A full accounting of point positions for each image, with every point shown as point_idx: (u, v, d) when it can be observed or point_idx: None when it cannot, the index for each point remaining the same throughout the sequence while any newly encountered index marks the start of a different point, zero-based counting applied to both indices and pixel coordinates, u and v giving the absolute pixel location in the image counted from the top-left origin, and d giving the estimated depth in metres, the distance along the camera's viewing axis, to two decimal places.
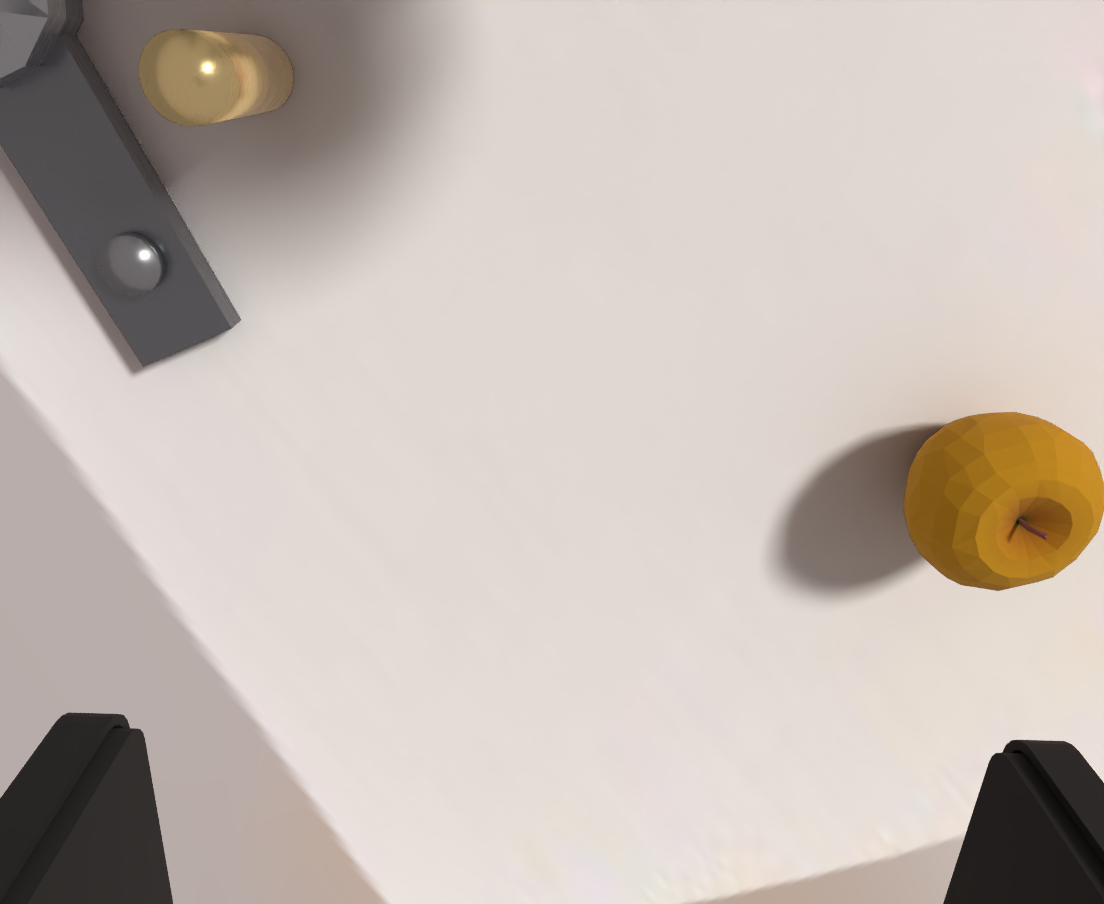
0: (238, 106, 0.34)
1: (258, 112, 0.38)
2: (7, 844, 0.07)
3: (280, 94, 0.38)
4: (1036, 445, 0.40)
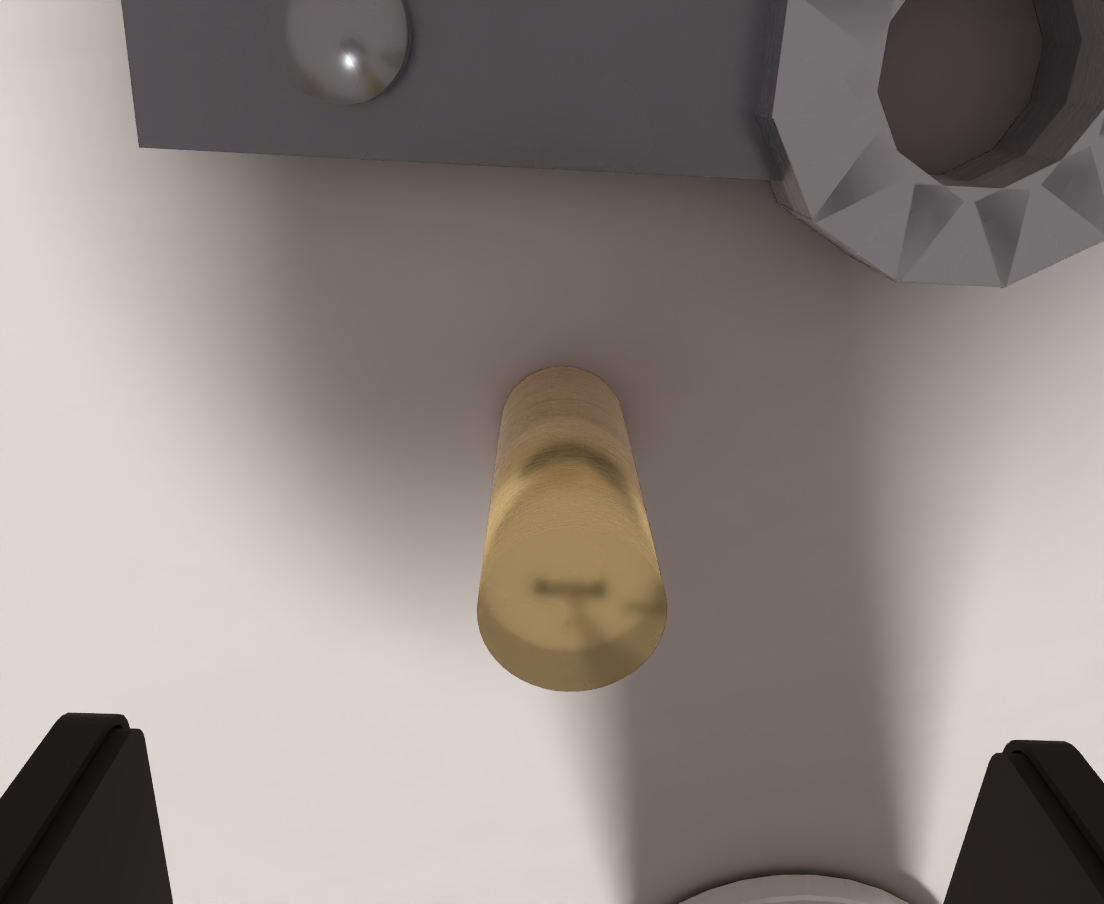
0: None
1: None
2: (7, 844, 0.07)
3: None
4: None
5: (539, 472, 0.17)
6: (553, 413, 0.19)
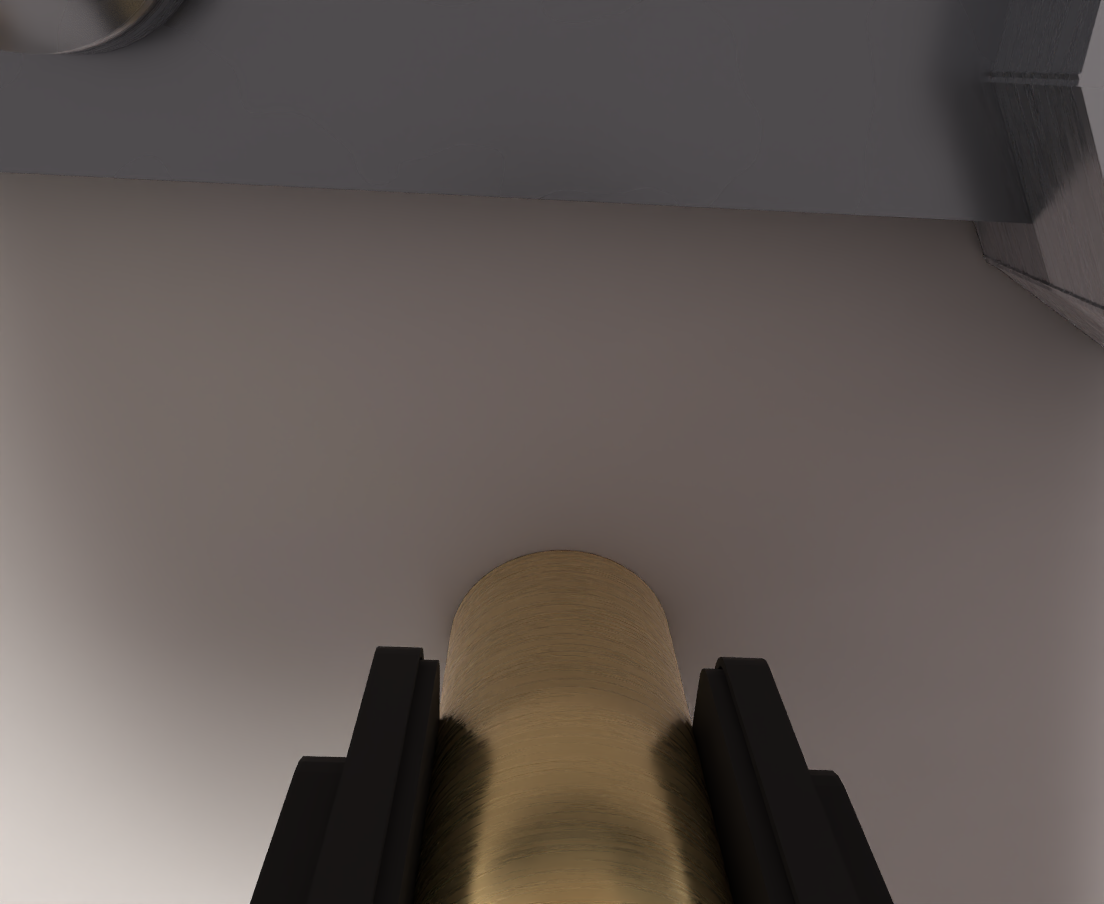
0: None
1: None
2: (381, 747, 0.09)
3: None
4: None
5: None
6: (543, 723, 0.09)
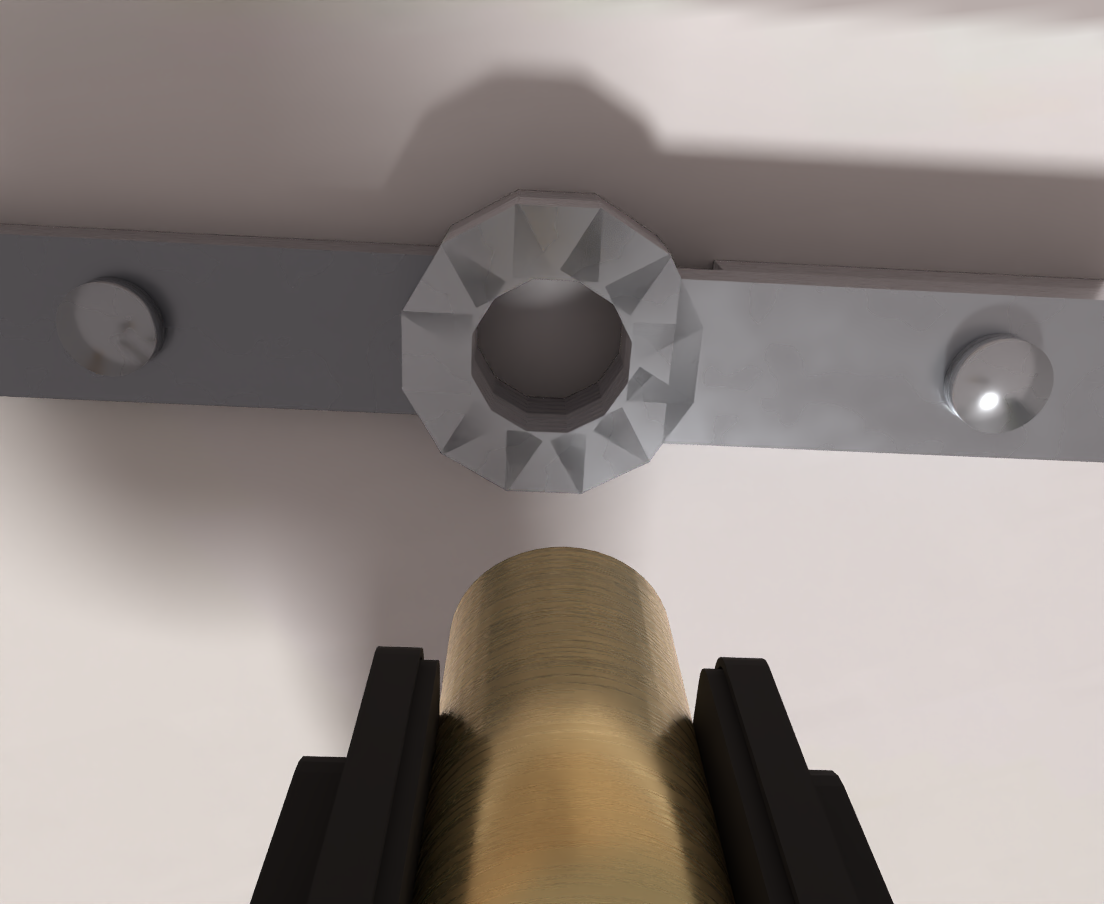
0: None
1: None
2: (381, 746, 0.09)
3: None
4: None
5: None
6: (544, 719, 0.09)
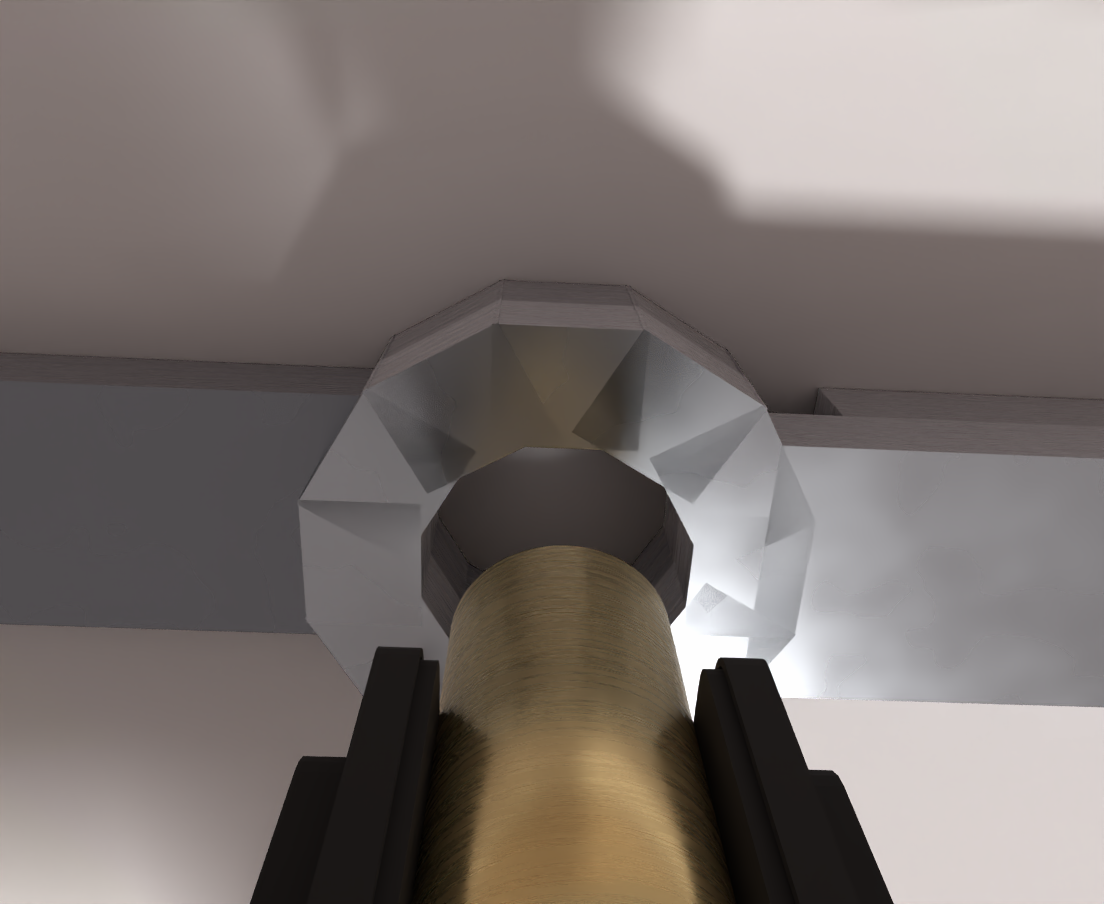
0: None
1: None
2: (381, 746, 0.09)
3: None
4: None
5: None
6: (545, 717, 0.09)
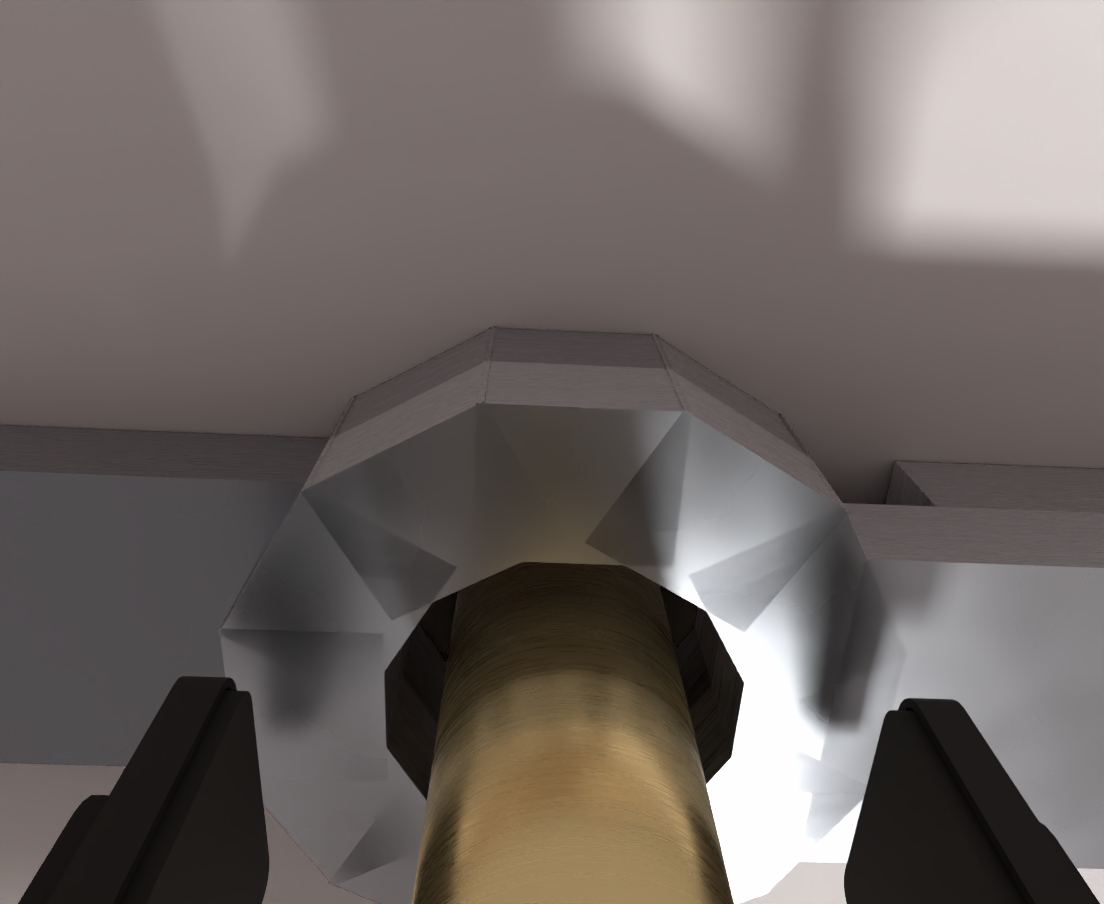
0: None
1: None
2: (148, 790, 0.08)
3: None
4: None
5: (513, 851, 0.08)
6: (544, 637, 0.10)
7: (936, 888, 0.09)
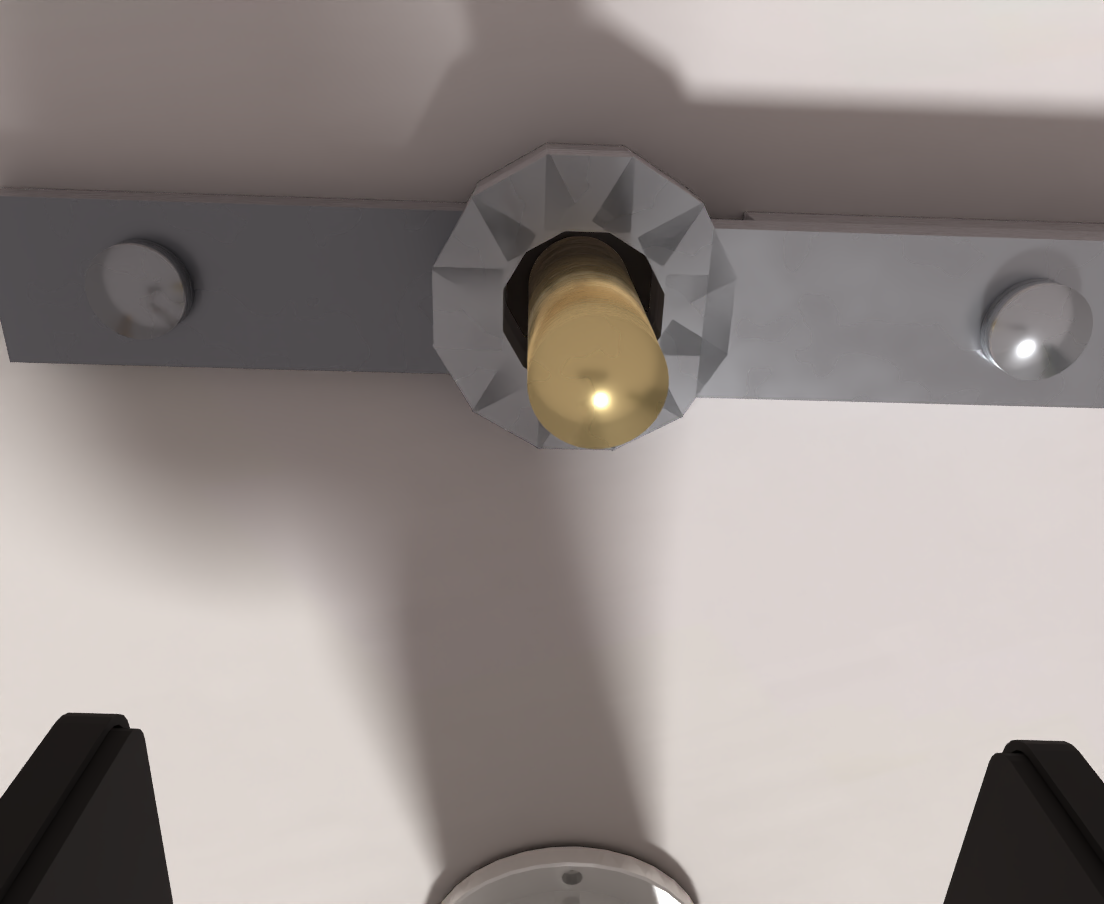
0: None
1: None
2: (7, 844, 0.07)
3: None
4: None
5: (569, 291, 0.22)
6: (575, 261, 0.24)
7: None
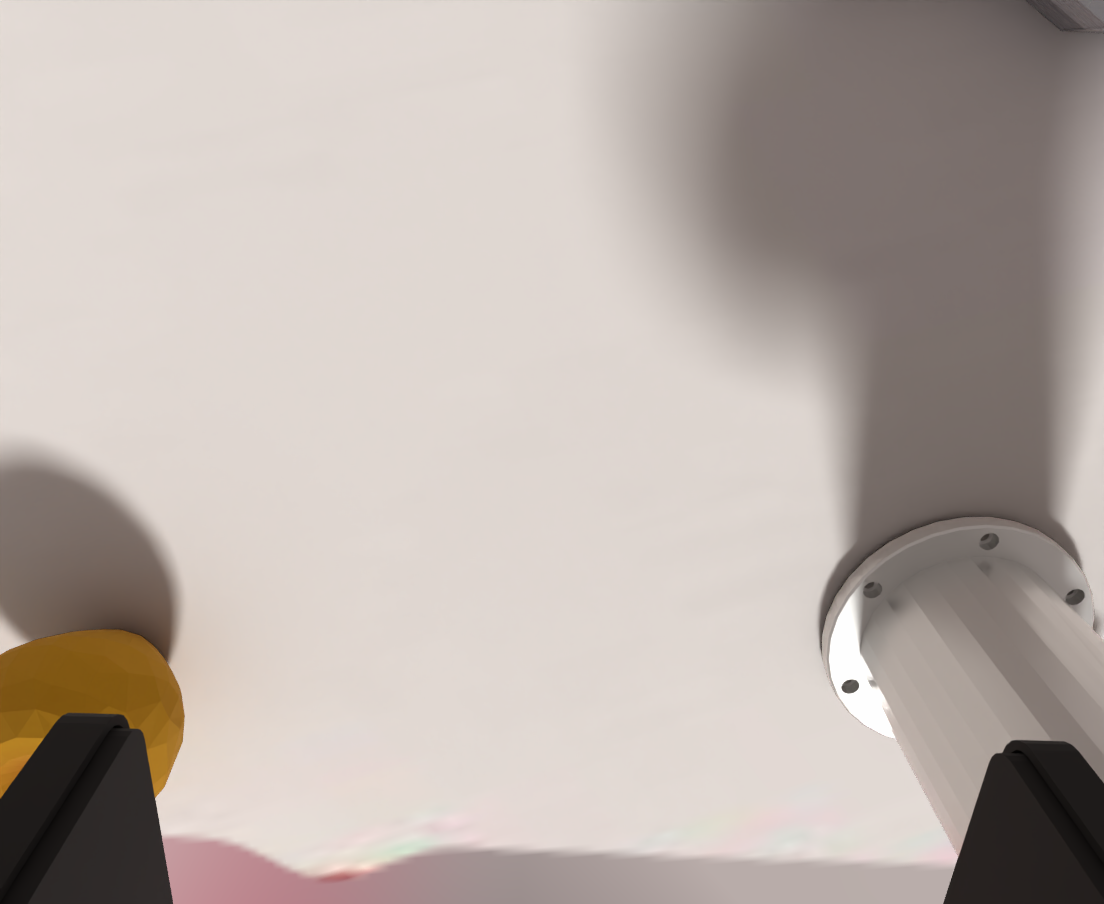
0: None
1: None
2: (7, 844, 0.07)
3: None
4: None
5: None
6: None
7: None
